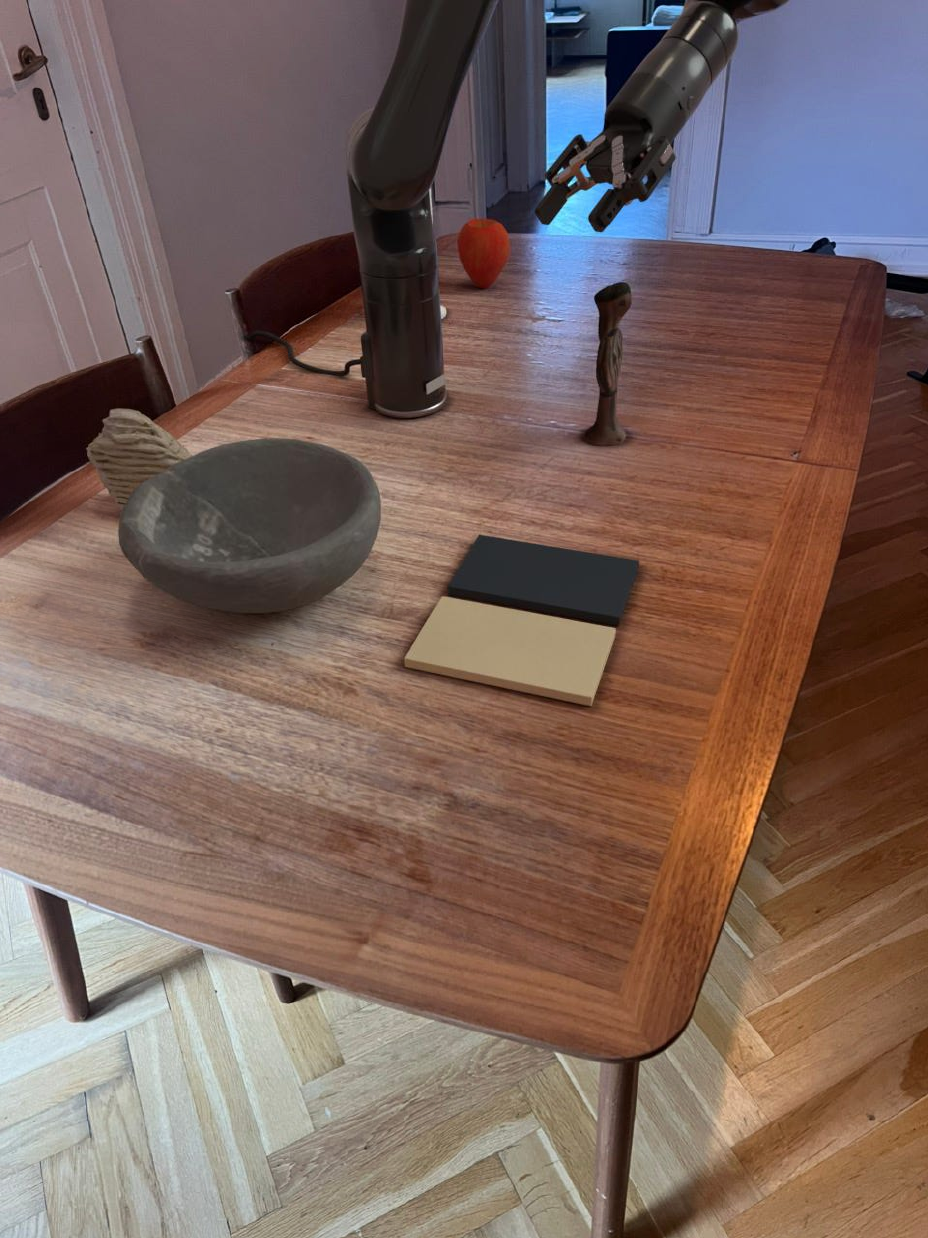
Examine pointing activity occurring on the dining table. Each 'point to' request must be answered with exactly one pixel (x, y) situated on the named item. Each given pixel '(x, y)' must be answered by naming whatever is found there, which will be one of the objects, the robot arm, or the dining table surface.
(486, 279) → the apple
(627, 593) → the dark mat
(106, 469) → the fossil tooth
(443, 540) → the dining table surface
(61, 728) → the dining table surface
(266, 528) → the bowl
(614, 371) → the figurine
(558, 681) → the cream mat
